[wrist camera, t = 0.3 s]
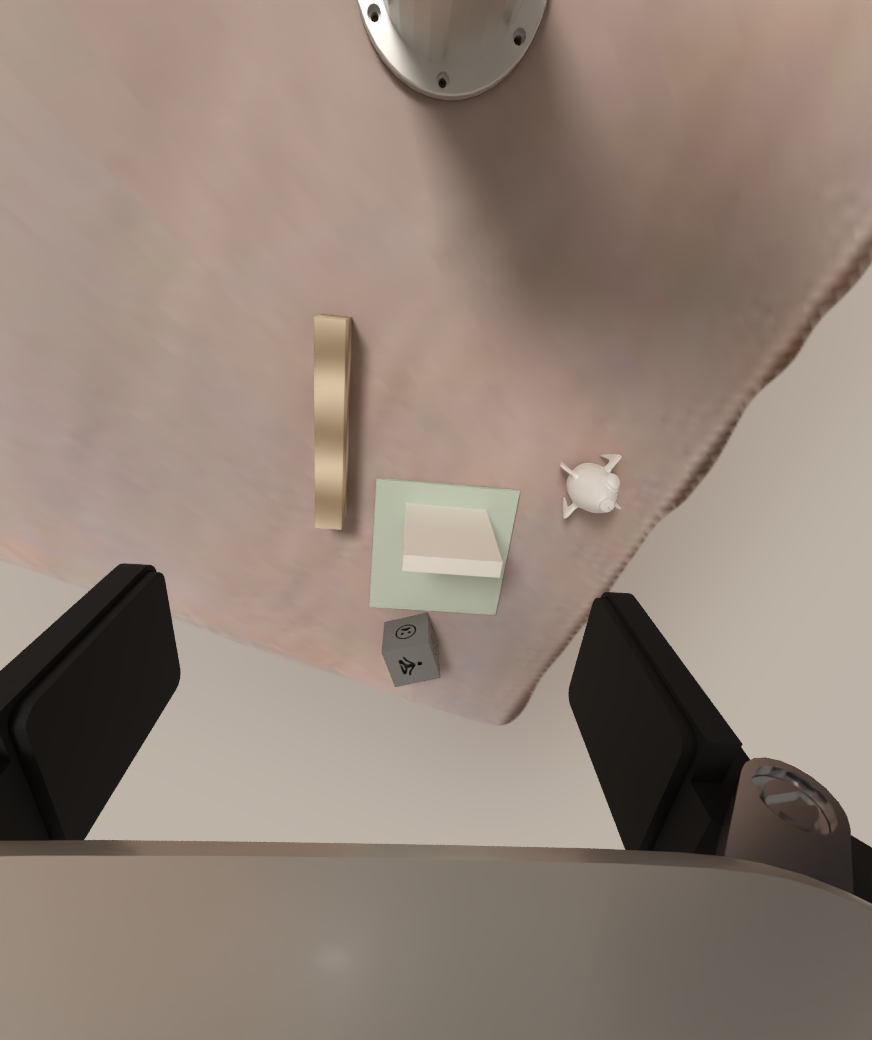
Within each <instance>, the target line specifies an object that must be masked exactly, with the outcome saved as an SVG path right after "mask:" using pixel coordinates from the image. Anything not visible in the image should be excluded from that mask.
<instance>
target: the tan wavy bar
mask: <svg viewBox="0 0 872 1040" xmlns="http://www.w3.org/2000/svg"><path fill="white" fill-rule="evenodd" d="M351 331H352V317H344V316H335V315H326V314H321V315H318V316H314V419H315V528H324V529H337V530H342V526H343V523H344V520H345V517H346V513H347V484H348V446H349V408H350V370H351Z"/></svg>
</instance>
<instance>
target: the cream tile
mask: <svg viewBox="0 0 872 1040" xmlns="http://www.w3.org/2000/svg"><path fill="white" fill-rule="evenodd" d="M502 563H503V561H502V558H501V555H500V552H499V549H498V545H497V542H496V539H495V536H494V533H493V529H492V526H491V523H490V520H489V517H488V513H487V510H483V509H471V508H459V507H446V506H434V505H422V504H410V503H406V510H405V524H404V544H403V563H402V571H410V572H424V573H438V574H452V575H467V576H481V577H495V578H500V574H501V569H502Z"/></svg>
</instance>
